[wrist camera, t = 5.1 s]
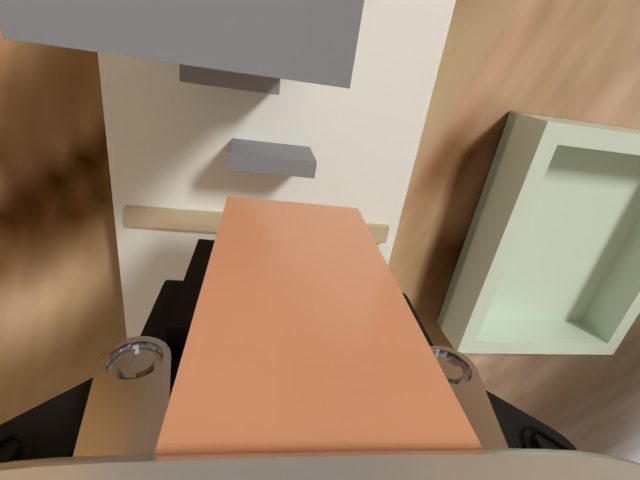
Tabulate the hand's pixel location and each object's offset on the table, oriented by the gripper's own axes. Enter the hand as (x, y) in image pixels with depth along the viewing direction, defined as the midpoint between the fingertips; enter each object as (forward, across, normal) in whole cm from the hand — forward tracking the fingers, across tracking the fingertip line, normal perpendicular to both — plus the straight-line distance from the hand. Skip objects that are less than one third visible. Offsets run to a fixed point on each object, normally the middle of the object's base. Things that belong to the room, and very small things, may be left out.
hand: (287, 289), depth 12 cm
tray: (+7, -14, 0) cm, 16 cm away
